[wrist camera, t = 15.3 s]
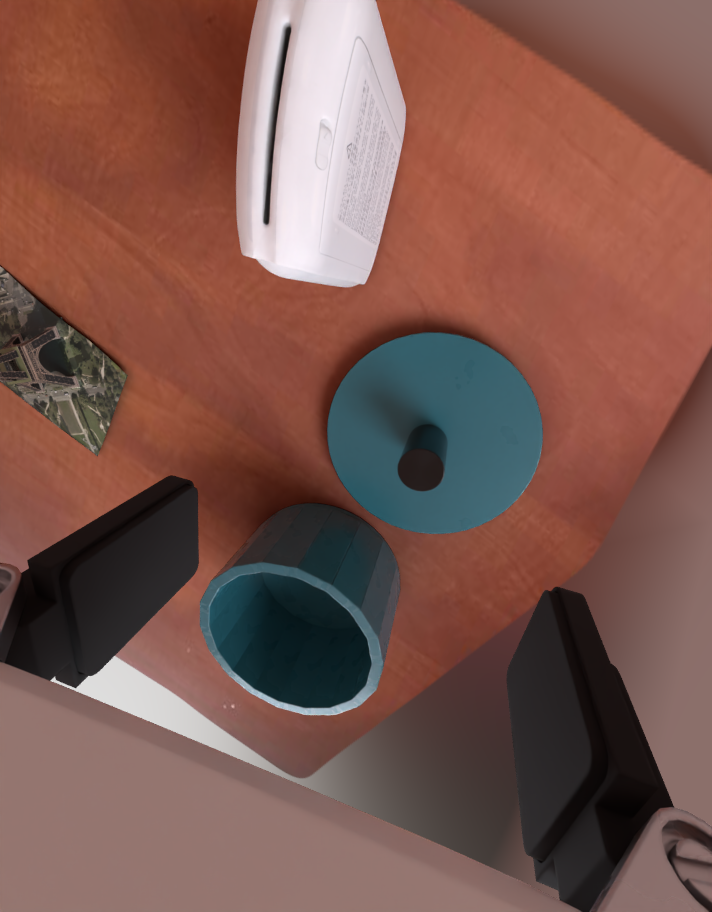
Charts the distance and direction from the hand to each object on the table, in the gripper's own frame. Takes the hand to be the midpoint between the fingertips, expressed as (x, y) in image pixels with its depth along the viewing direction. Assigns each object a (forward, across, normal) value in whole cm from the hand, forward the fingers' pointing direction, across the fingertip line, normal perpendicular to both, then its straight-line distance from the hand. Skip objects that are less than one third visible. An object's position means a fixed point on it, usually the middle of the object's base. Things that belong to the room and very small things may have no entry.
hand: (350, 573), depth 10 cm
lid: (+19, -1, +3) cm, 19 cm away
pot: (+19, +5, +18) cm, 27 cm away
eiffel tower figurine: (+19, +33, +4) cm, 38 cm away
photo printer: (+20, +7, -12) cm, 24 cm away
